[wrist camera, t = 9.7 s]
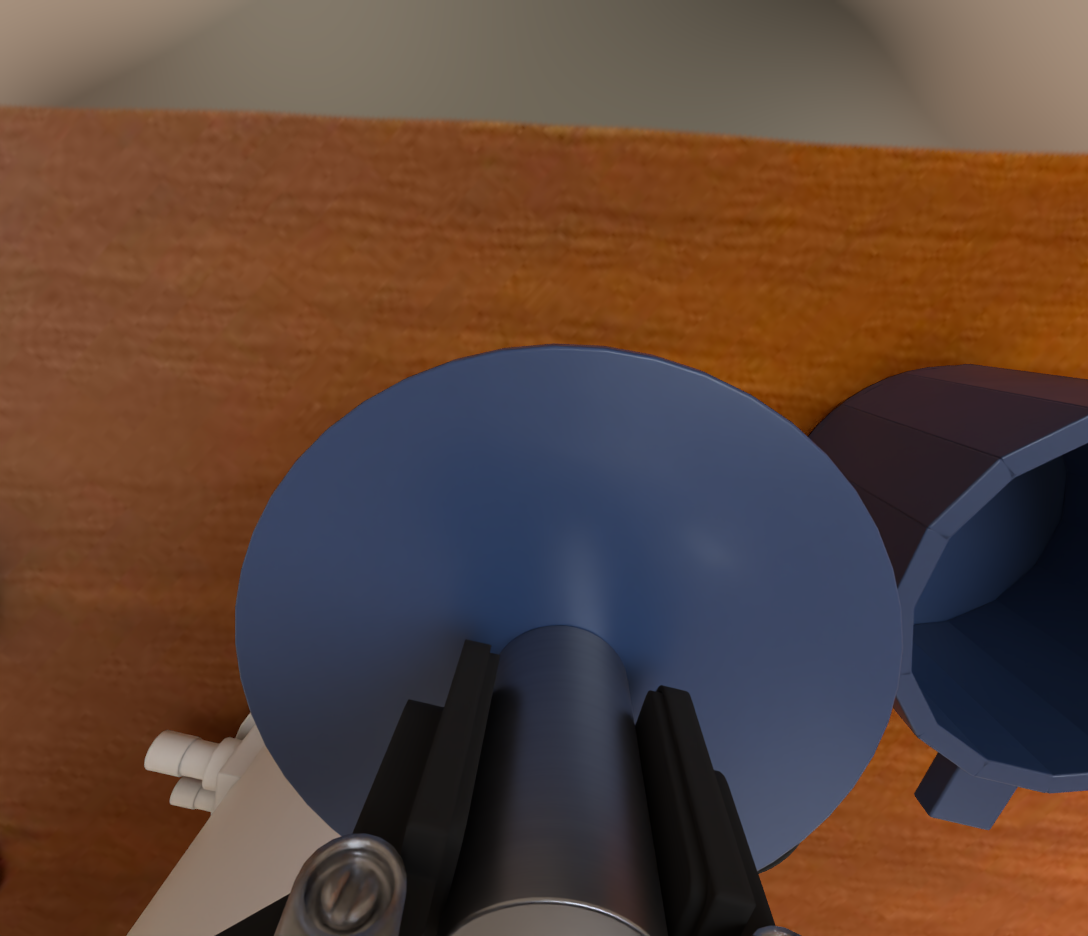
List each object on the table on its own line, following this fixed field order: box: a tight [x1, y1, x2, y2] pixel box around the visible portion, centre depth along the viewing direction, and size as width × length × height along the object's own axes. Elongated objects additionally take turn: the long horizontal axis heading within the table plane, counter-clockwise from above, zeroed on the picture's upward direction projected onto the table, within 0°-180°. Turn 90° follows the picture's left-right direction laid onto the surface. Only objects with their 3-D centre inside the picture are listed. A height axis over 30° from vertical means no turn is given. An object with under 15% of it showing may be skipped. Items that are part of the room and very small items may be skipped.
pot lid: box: [235, 344, 903, 936], centre depth 10 cm, size 15×15×7 cm
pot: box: [808, 364, 1088, 830], centre depth 21 cm, size 14×19×10 cm
